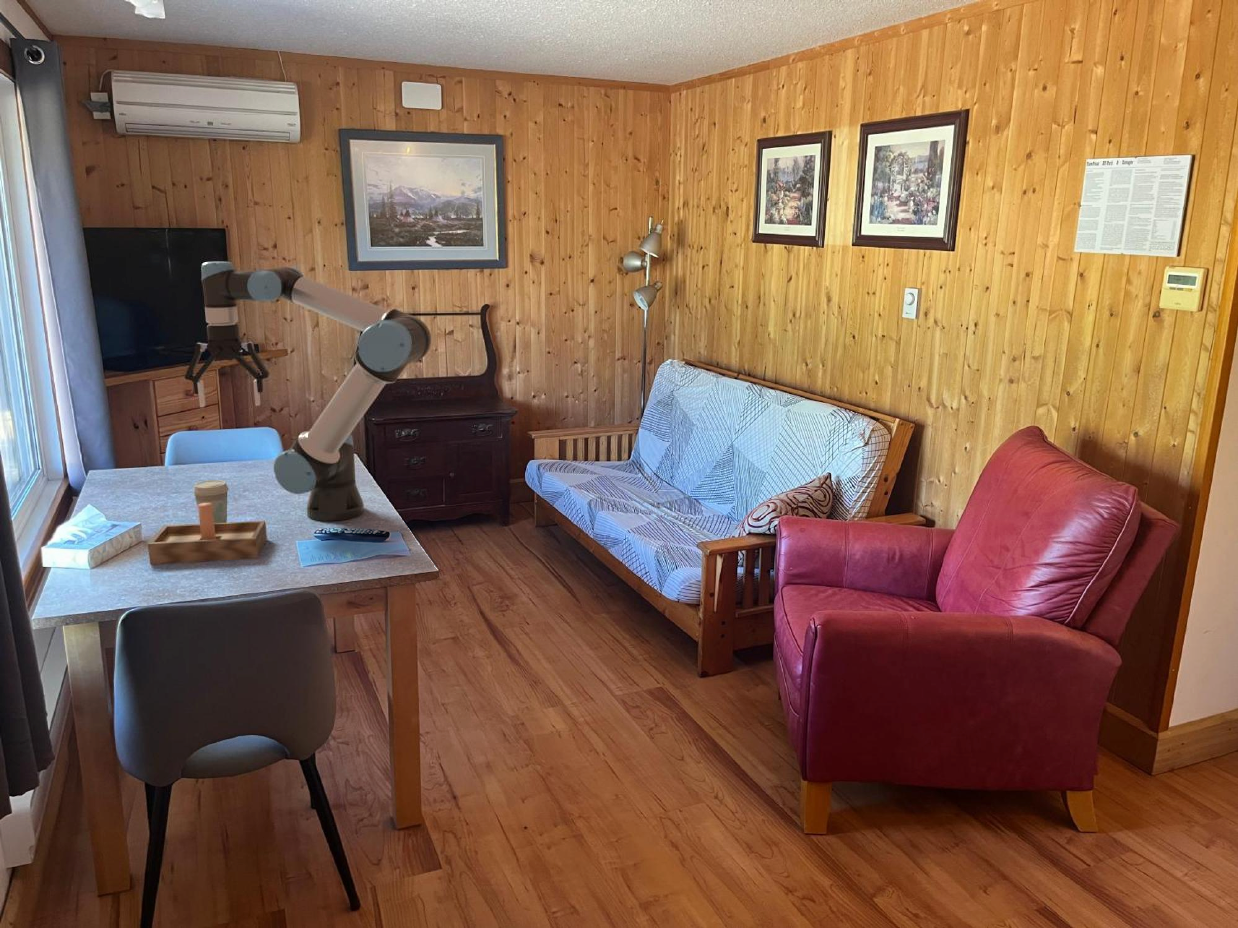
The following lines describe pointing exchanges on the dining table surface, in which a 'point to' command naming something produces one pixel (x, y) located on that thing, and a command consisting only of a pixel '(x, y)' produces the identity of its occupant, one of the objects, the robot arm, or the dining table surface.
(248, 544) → the crate
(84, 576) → the dining table surface
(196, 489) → the coffee cup
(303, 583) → the dining table surface
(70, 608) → the dining table surface
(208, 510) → the peg
